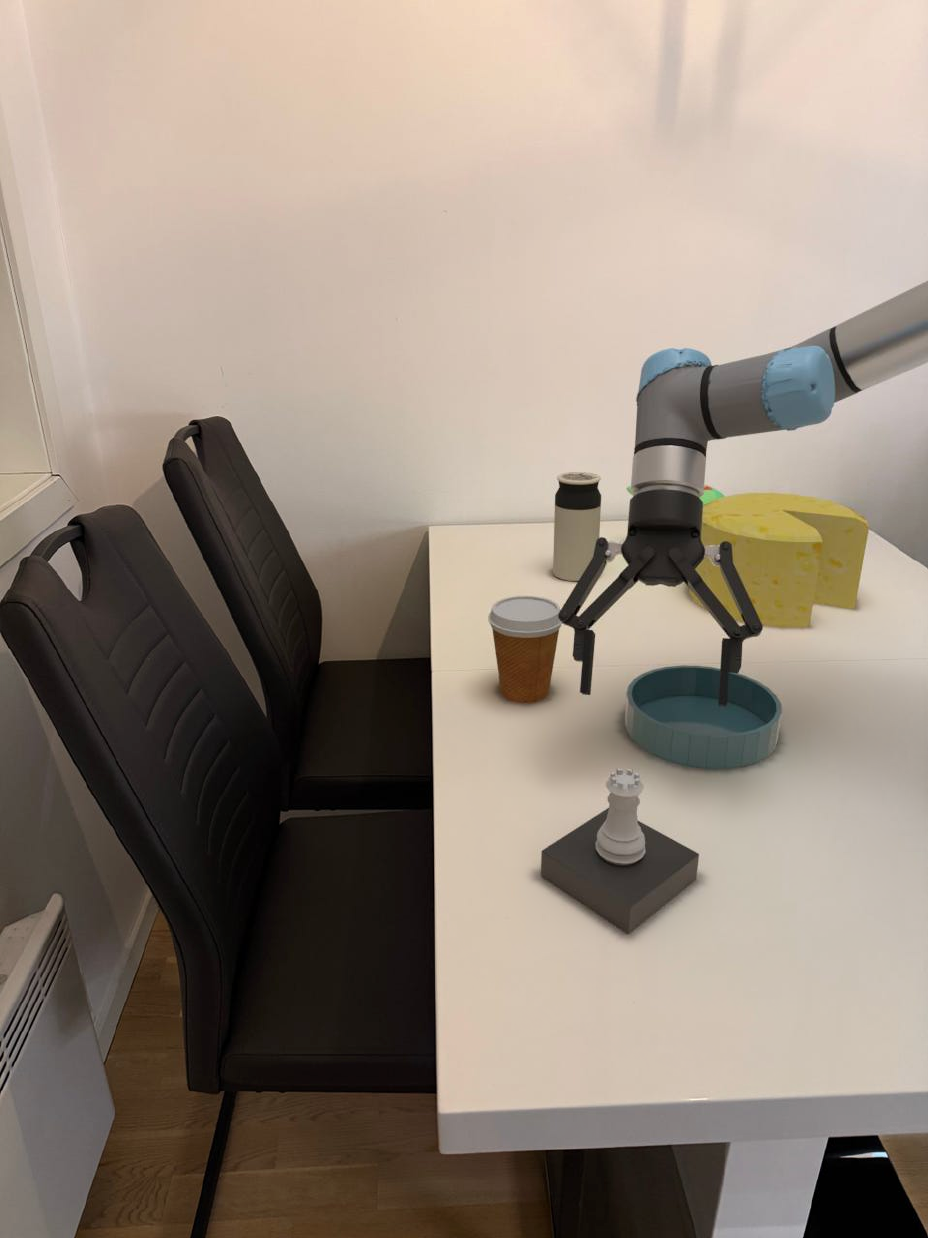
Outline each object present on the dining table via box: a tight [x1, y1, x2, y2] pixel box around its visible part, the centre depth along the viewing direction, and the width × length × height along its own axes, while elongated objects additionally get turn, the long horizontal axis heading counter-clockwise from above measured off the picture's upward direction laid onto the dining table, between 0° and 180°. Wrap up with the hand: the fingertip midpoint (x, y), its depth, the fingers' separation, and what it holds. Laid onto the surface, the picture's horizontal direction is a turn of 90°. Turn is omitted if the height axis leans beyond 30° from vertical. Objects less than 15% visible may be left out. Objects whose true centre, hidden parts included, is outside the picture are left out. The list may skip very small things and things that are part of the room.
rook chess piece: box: [596, 767, 645, 865], centre depth 74 cm, size 4×4×8 cm
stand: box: [540, 807, 700, 935], centre depth 76 cm, size 10×10×3 cm
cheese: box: [688, 492, 870, 628], centre depth 137 cm, size 26×26×15 cm
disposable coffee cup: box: [487, 595, 563, 704], centre depth 108 cm, size 10×10×12 cm
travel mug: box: [552, 471, 602, 582], centre depth 148 cm, size 8×8×18 cm
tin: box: [624, 664, 783, 770], centre depth 100 cm, size 18×18×4 cm
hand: (652, 699), depth 85 cm, fingers open, 13 cm apart
